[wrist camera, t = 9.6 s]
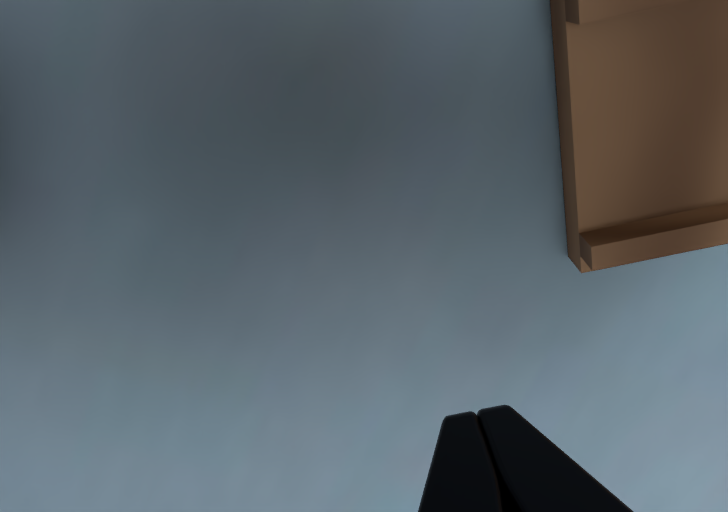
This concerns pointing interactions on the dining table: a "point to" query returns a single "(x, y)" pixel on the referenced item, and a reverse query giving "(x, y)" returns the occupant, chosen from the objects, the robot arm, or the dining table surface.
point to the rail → (642, 127)
